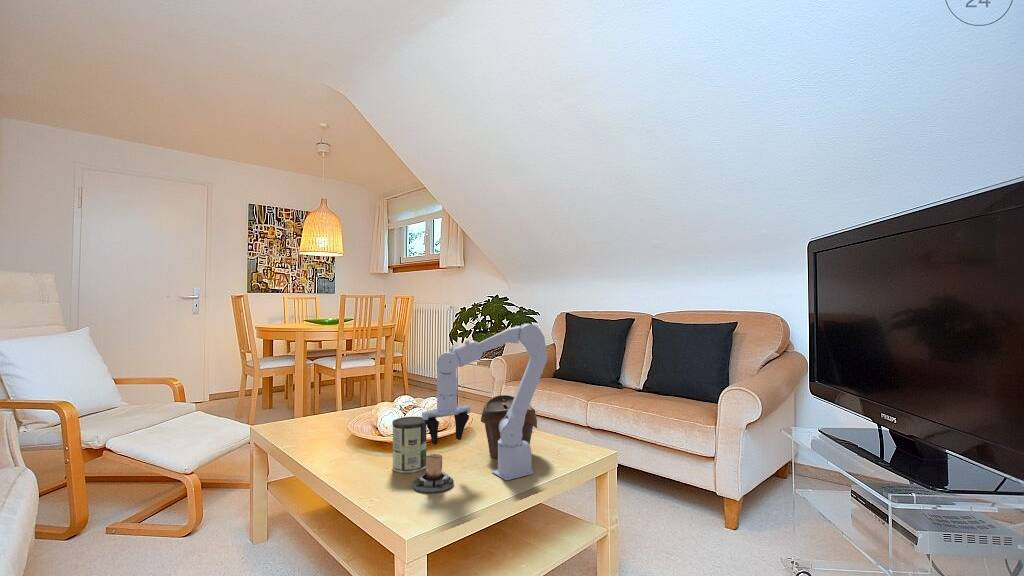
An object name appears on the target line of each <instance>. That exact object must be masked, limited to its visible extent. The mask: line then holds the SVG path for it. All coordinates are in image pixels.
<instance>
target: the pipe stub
mask: <svg viewBox="0 0 1024 576" xmlns="http://www.w3.org/2000/svg"><path fill="white" fill-rule="evenodd" d="M425 472H426V480H433V481H434V480H439V479H442V472H443V455H442V454H439V453H433V454H426V468H425Z"/></svg>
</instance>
